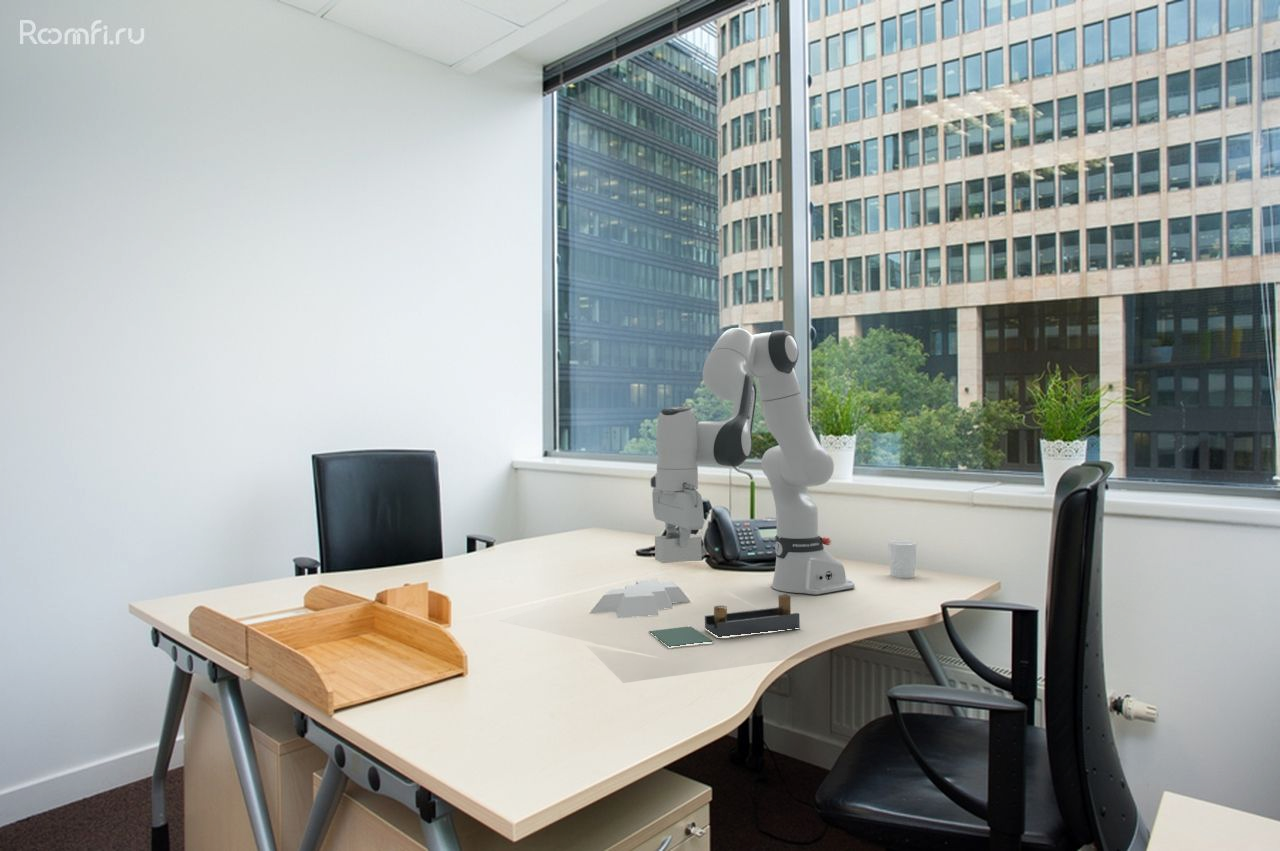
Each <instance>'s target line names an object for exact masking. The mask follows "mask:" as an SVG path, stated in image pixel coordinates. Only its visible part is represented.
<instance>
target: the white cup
mask: <svg viewBox="0 0 1280 851" xmlns="http://www.w3.org/2000/svg"><path fill="white" fill-rule="evenodd" d="M887 547H888V548H887V550H888V551H887V552H888V564H889V565H888V566H889V575H890V576H891V577H893V578H898V579H912V578H915V577H916V562H917V561H916V560H917V542H915V541H913V540H903V539H902V540H901V539H900V540H897V539H896V540H889V541H888V542H887Z"/></svg>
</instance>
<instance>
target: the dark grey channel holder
mask: <svg viewBox="0 0 1280 851" xmlns="http://www.w3.org/2000/svg"><path fill="white" fill-rule="evenodd" d="M727 608H728V607H727V606H726V605H715V606H713V614H710V615H709V614H708V615H704V629H705V628H706V629H707V630H709V631H710V632H712V633H713V634H715V635H717V636H718V637H722V636H730V635H741V634H751V633H760V632H768V631H778V630H787V629H795V628H800V626H801V625H800V613H798V612H796V613H795V612H793V613H791V612H792V611H791V595H789V594H778V607H769V608H761V609H753V610H745V611H744V610H743V611H734V612H728V611H727V610H728V609H727Z"/></svg>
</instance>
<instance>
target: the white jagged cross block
mask: <svg viewBox="0 0 1280 851" xmlns="http://www.w3.org/2000/svg"><path fill="white" fill-rule="evenodd" d="M690 601H691V600H690V599H689V597H687V595H686V594H685V593H684V591H683V590H682V589H681V587H679V586H678V585H676V583H675V581H673V580H667V581H665V580H664V581H658V578H657V577H653V578H648V579H642V580H636V581H635V584H628V585H625V586H624V588H614V589H613V588H612V589H609V591H608V592H606V593H605V594H604V595H603V596H602V597H601V598H600V599H599V601H598V602H597V603H596V604H595V605H594V607H593V608H592V609H591V611H590V612H589V613H588V614H589V615H590V614H597V613H606V612H607V613H609V612H616V617H617V619H620V618H623V619H624V618H633V617H632V616H639V617H649V616H648V615H659V616H660V614H659V610H658V609H662V610H665V609H664V608H673V609H674V607H672V606H673V604H674V603H673V602H690Z"/></svg>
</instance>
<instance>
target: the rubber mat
mask: <svg viewBox="0 0 1280 851" xmlns="http://www.w3.org/2000/svg"><path fill="white" fill-rule="evenodd" d="M649 632H650V633H652V634H653V635H654V636H656V637H657V638H658V639H659V640H661V641H662V642H663V643H665V644H666V645H667V646H669V647H671V646H680V645H686V644H694V643H703V642H712V641H713V642H714V640H713V639H711V638H709V636H707V635H705V634H704V633H702V632H700V631H699V630H698V629H696V628H694V627H693V626H690V627H688V626H682V627H673V628H666V629H665V628H664V629H657V630H649V631H648V633H649ZM650 633H649V634H650ZM654 636H653V637H654ZM659 640H658V641H659Z"/></svg>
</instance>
